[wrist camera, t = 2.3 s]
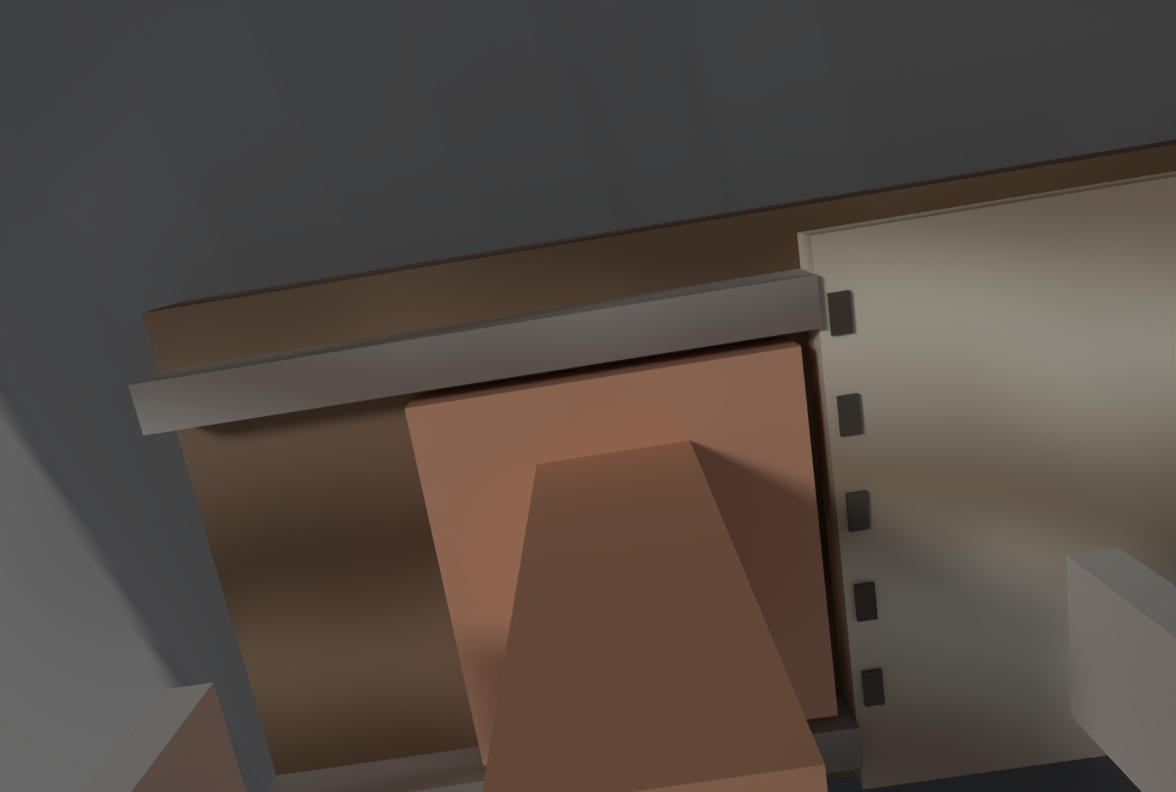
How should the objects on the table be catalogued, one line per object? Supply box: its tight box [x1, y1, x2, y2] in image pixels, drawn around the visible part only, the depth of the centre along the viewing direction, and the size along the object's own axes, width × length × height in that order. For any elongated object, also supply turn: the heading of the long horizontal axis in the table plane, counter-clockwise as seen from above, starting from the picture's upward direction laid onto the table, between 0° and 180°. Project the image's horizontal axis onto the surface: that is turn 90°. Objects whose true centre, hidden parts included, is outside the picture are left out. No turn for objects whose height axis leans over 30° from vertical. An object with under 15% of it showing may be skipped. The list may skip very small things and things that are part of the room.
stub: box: [405, 337, 838, 792], centre depth 13 cm, size 8×8×10 cm
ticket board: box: [128, 140, 1176, 792], centre depth 18 cm, size 13×28×3 cm, turn 99°
